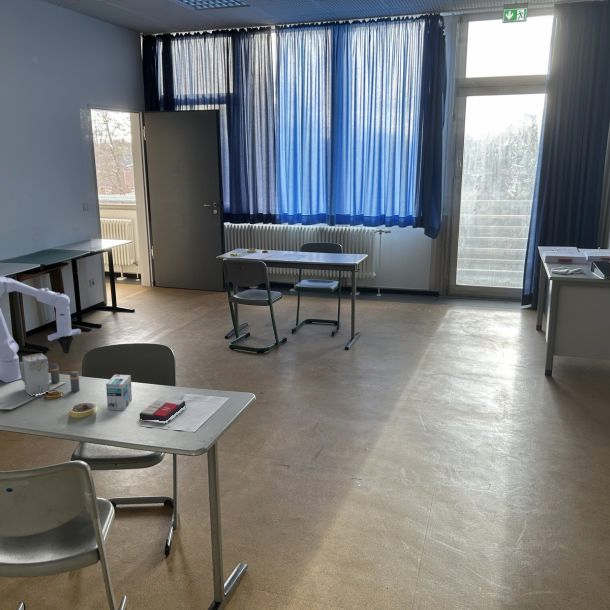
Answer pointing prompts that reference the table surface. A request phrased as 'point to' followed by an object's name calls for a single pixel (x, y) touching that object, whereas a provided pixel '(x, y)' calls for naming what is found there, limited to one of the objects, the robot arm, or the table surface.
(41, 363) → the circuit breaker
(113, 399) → the light bulb box
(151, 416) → the red black flat box
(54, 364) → the left cable post
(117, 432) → the table surface
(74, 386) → the post
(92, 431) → the table surface
